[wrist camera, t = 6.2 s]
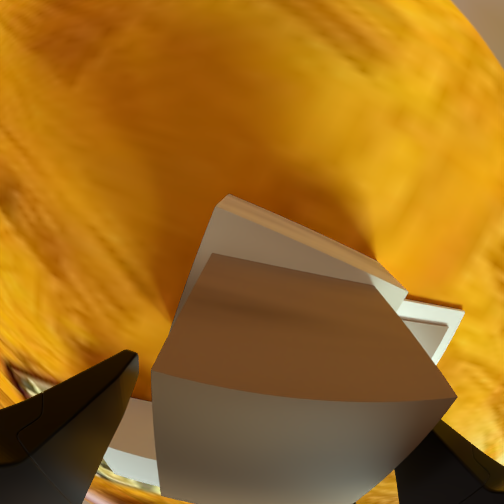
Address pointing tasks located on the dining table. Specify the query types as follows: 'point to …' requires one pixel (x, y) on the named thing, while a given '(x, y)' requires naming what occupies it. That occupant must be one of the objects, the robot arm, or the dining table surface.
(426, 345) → the walnut card
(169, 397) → the walnut cube
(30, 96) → the dining table surface
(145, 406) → the grey cube
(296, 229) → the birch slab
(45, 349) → the dining table surface
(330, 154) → the dining table surface
